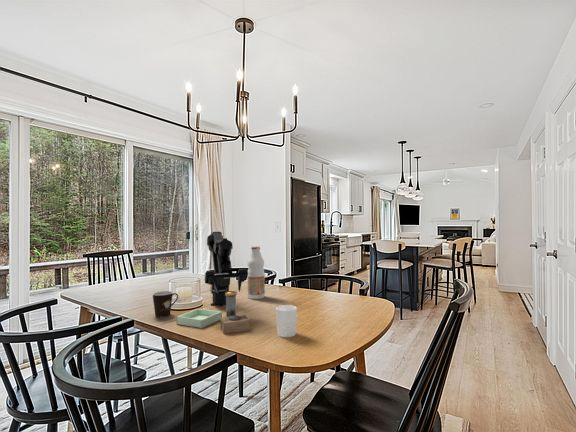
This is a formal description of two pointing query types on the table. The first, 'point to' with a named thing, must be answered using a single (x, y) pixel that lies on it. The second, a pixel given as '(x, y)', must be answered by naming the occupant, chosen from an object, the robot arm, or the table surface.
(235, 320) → the block
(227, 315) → the grey metal cylinder
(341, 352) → the table surface
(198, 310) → the green tray
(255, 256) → the fruit juice
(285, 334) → the white cup
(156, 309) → the coffee mug
